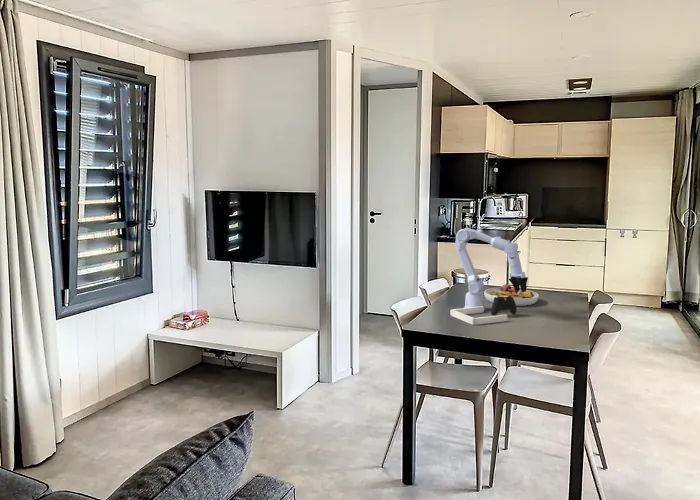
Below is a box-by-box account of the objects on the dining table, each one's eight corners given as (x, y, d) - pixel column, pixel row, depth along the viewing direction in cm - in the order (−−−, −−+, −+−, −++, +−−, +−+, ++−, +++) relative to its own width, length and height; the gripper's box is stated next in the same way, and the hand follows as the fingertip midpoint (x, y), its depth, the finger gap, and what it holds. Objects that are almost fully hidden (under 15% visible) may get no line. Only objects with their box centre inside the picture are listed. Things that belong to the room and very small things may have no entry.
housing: (450, 315, 285) (450, 309, 284) (482, 311, 293) (482, 306, 292) (473, 324, 267) (473, 318, 266) (506, 320, 274) (507, 315, 274)
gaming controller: (494, 317, 281) (495, 298, 280) (488, 314, 287) (489, 295, 285) (519, 315, 285) (520, 296, 283) (512, 313, 291) (513, 294, 289)
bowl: (545, 308, 303) (546, 293, 302) (490, 307, 304) (491, 293, 303) (529, 296, 333) (529, 283, 332) (479, 295, 334) (479, 282, 332)
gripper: (528, 263, 279) (534, 289, 279) (516, 263, 293) (521, 288, 293) (515, 266, 278) (521, 293, 278) (503, 266, 292) (509, 291, 292)
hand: (520, 291), depth 286 cm, fingers open, 7 cm apart
